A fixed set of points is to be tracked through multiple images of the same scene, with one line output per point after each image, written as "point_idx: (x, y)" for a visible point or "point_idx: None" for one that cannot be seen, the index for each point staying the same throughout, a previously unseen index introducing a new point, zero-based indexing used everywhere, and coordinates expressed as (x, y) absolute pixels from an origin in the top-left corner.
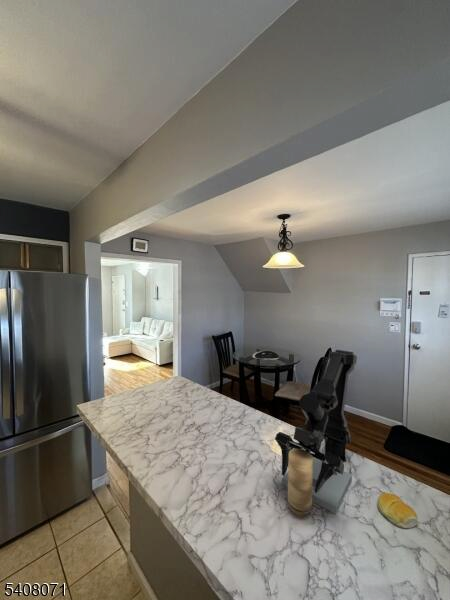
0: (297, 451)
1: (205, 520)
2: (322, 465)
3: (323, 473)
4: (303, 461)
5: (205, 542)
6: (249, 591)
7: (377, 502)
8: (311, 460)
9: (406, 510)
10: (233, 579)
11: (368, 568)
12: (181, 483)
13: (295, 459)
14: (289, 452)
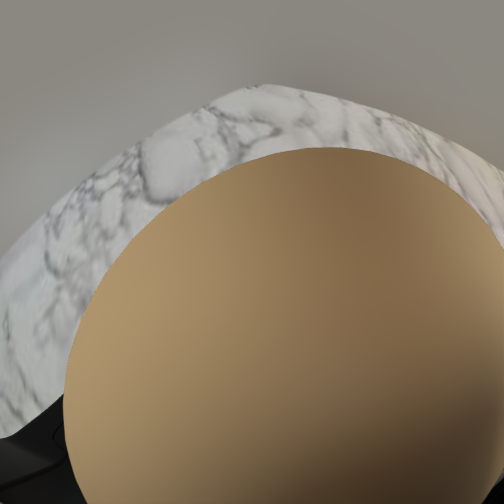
0: (474, 469)
1: (400, 148)
2: (11, 471)
3: (41, 431)
4: (244, 257)
5: (359, 116)
6: (237, 93)
7: None
8: (89, 457)
9: None
10: (272, 93)
11: (25, 290)
12: (483, 197)
13: (411, 209)
14: None
